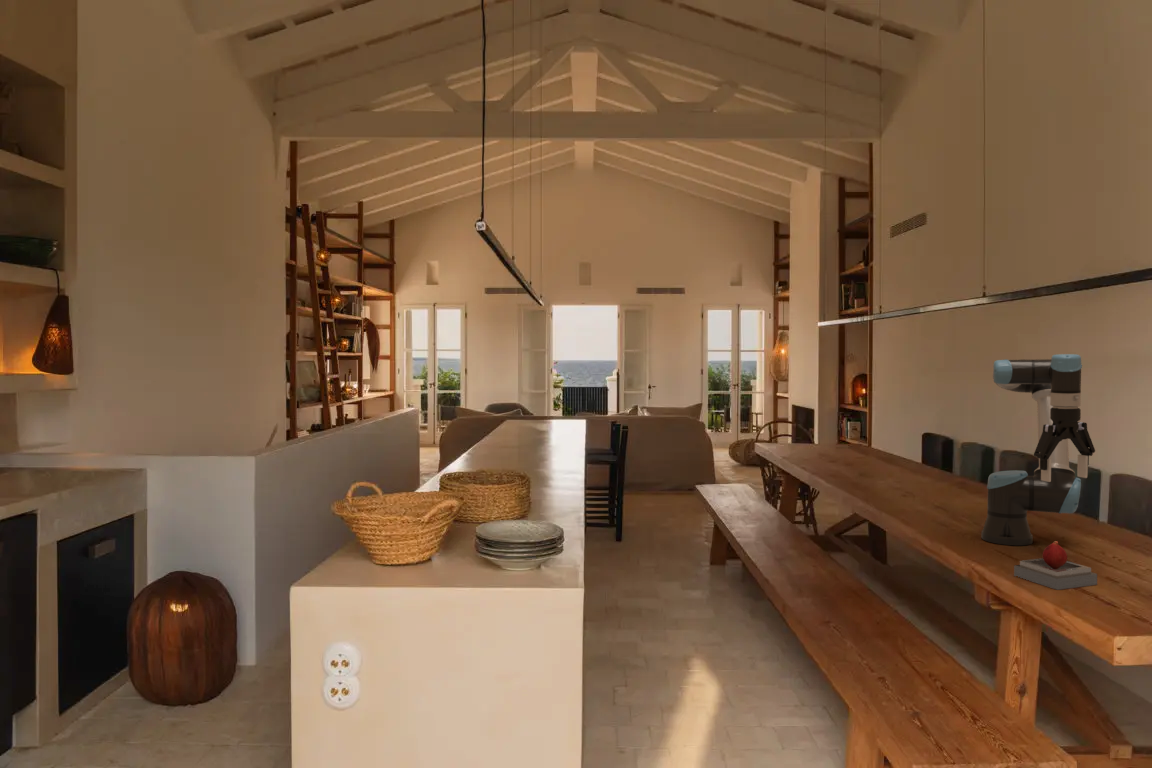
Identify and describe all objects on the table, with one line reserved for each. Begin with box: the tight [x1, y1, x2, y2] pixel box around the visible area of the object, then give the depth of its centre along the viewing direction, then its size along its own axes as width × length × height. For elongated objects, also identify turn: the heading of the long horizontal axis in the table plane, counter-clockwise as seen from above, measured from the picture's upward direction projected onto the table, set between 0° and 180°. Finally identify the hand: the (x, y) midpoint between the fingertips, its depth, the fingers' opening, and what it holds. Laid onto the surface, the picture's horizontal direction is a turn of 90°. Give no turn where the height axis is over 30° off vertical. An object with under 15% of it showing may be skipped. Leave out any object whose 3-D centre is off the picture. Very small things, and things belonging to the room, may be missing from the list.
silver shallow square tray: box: [1013, 557, 1098, 591], centre depth 220 cm, size 14×14×4 cm
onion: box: [1042, 540, 1068, 569], centre depth 219 cm, size 6×6×8 cm
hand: (1064, 479), depth 231 cm, fingers open, 13 cm apart
